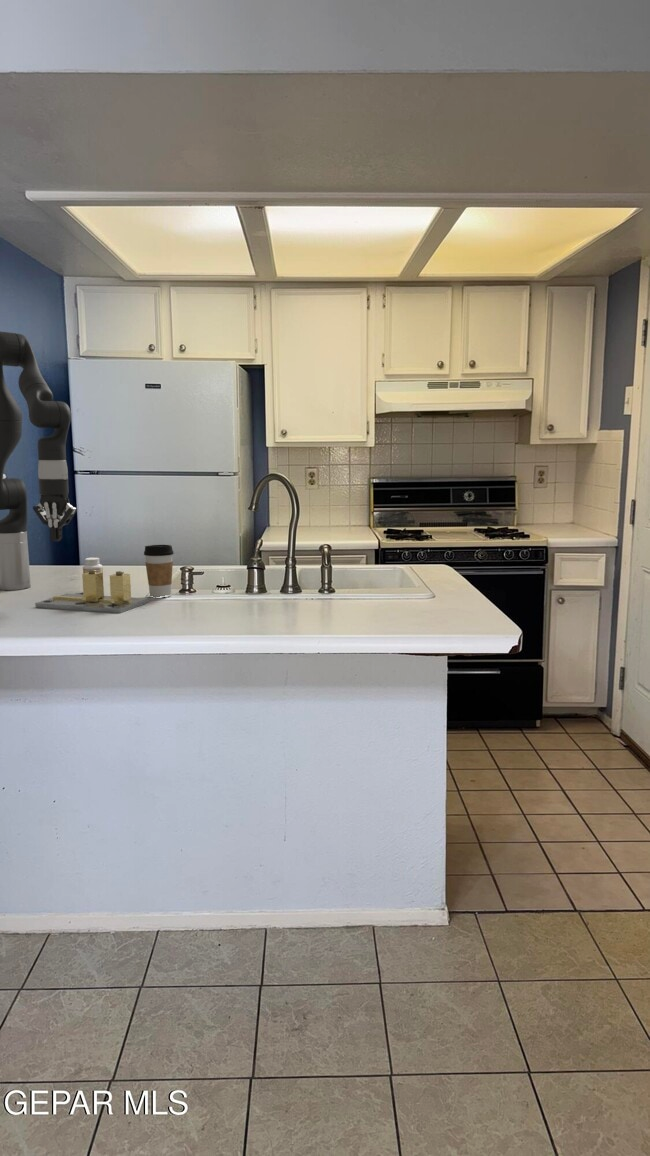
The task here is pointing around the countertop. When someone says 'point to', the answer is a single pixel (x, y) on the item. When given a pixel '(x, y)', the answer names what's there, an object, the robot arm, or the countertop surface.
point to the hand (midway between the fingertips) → (56, 540)
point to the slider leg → (92, 586)
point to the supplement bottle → (92, 565)
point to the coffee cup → (159, 569)
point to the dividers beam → (112, 590)
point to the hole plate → (90, 604)
